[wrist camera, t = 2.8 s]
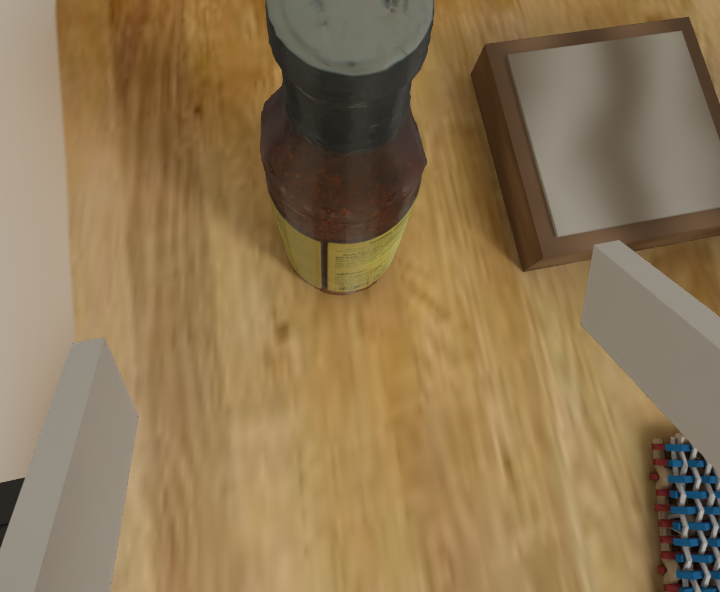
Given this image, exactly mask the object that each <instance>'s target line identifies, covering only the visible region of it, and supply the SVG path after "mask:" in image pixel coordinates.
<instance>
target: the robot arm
mask: <svg viewBox="0 0 720 592" xmlns="http://www.w3.org/2000/svg"><path fill="white" fill-rule="evenodd" d="M581 325H582V326H583V328H584V329H585V330H586V331H587V332H588V333H589V334H590V335H591V336H592V337H593V338H594V339H595V340H596V341H597V343H598V344H599V345H600V346H601V347H602V348H603V349H604V350H605V351H606V352H607V353H608V354H609V355H610V357H611V358H612V359H613V360H614V361H615V362H616V363H617V364H618V365H619V366H620V367H621V368H622V369H623V371H624V372H625V373H626V374H627V375H628V376H629V377H630V378H631V379H632V380H633V381H634V382H635V383H636V384H637V386H638V387H639V388H640V389H641V390H642V391H643V392H644V393H645V394H646V395H647V396H648V397H649V398H650V400H651V401H652V402H653V403H654V404H655V405H656V406H657V407H658V408H659V409H660V410H661V411H662V412H663V414H664V415H665V416H666V417H667V418H668V419H669V420H670V421H671V422H672V423H673V424H674V425H675V426H676V427H677V429H678V430H679V431H680V432H681V433H682V434H683V435H684V436H685V437H686V438H687V439H688V440H689V441H690V443H691V444H692V445H693V446H694V447H695V448H696V449H697V450H698V451H699V452H700V453H701V454H702V455H703V457H704V458H705V459H706V460H707V461H708V462H709V463H710V464H711V465H712V466H713V467H714V468H715V469H716V470H717V472H718V473H719V474H720V317H719V316H718V315H717V314H715V313H714V312H713V311H712V310H710V309H709V308H708V307H706V306H705V305H704V304H702V303H701V302H700V301H698V300H697V299H696V298H694V297H693V296H692V295H691V294H689V293H688V292H687V291H685V290H684V289H683V288H681V287H680V286H679V285H677V284H676V283H675V282H674V281H672V280H671V279H670V278H668V277H667V276H666V275H664V274H663V273H662V272H660V271H659V270H658V269H656V268H655V267H654V266H653V265H651V264H650V263H649V262H647V261H646V260H645V259H643V258H642V257H641V256H639V255H638V254H637V253H635V252H634V251H633V250H632V249H630V248H629V247H628V246H626V245H625V244H624V243H622V242H621V241H620V240H617V241H611V242H606V243H601V244H595V245H594V247H593V253H592V259H591V265H590V271H589V277H588V283H587V289H586V295H585V301H584V307H583V313H582V319H581ZM137 423H138V414H137V412H136V409H135V407H134V405H133V402H132V400H131V398H130V395H129V393H128V391H127V388H126V386H125V384H124V381H123V379H122V377H121V374H120V372H119V370H118V367H117V365H116V363H115V360H114V358H113V356H112V353H111V351H110V349H109V346H108V344H107V342H106V339H105V337H104V338H99V339H93V340H88V341H83V342H78V343H72V346H71V349H70V352H69V355H68V357H67V360H66V363H65V366H64V369H63V372H62V374H61V377H60V380H59V383H58V386H57V389H56V392H55V394H54V397H53V400H52V403H51V406H50V409H49V411H48V414H47V417H46V420H45V423H44V426H43V429H42V431H41V434H40V437H39V440H38V443H37V446H36V449H35V451H34V455H33V457H32V460H31V463H30V466H29V469H28V471H27V474H26V477H25V478H21V479H16V480H12V481H7V482H2V483H0V592H110V590H111V584H112V577H113V571H114V565H115V559H116V553H117V546H118V540H119V534H120V528H121V522H122V515H123V509H124V503H125V497H126V491H127V485H128V478H129V472H130V466H131V460H132V454H133V447H134V441H135V435H136V429H137Z"/></svg>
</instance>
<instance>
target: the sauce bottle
mask: <svg viewBox="0 0 720 592" xmlns="http://www.w3.org/2000/svg"><path fill="white" fill-rule="evenodd" d="M265 7H266V21H267V29H268V35H269V44H270V46H271V48H272V53H273V55H274V58H275V60H276V62H277V63H278V65H279V66H280V68H281V69H282V76H283V82H282V86H281V87H280V88H279V89H278V90H277V91H276V92H275V93H274V94H273V95H271V97H270V98H269V99H268V100H267V101H266V102H265V104H264V107H263V111H262V113H261V140H260V152H261V157H262V162H263V166H264V170H265V173H266V184H267V188H268V192H269V196H270V199H271V203H272V206H273V210H274V214H275V217H276V221H277V225H278V228H279V231H280V234H281V238H282V241H283V244H284V248H285V251H286V254H287V257H288V259H289V261H290V263H291V265H292V266H293V268H294V270H295V272H296V273H297V274H299V275H300V276H301V277H302V278H303V279H304V280H305V281H306V282H307V283H309V284H310V285H312V286H314V287H315V288H317V289H319V290H321V291H322V292H324V293H327V294H332V295H346V294H352V293H354V292H358V291H361V290H364V289H367V288H369V287H370V286H372V285H373V284H375V283H376V282H377V280H378V279H379V278H380V277H381V276H382V275H383V274H384V273H385V271H386V270H387V269H388V267H389V266H390V265H391V263H392V260H393V258H394V256H395V253H396V251H397V248H398V245H399V243H400V240H401V238H402V236H403V233H404V230H405V227H406V225H407V222H408V220H409V217H410V214H411V211H412V209H413V206H414V203H415V200H416V198H417V195H418V192H419V188H420V184H421V177H422V173H423V170H424V168H425V166H426V164H427V159H426V156H425V153H424V149H423V146H422V142H421V138H420V134H419V131H418V127H417V124H416V122H415V120H414V118H413V116H412V112H411V108H410V98H411V96H410V90H411V82H412V79H413V78H414V77H415V76H416V75H417V73H418V72H419V71H420V69H421V67H422V65H423V62H424V60H425V58H426V55H427V51H428V45H429V42H430V34H431V29H432V26H433V16H434V0H265Z"/></svg>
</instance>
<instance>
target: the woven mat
mask: <svg viewBox="0 0 720 592" xmlns="http://www.w3.org/2000/svg"><path fill="white" fill-rule="evenodd" d="M687 441H688V439H687V438H686V437H685V436H684V435H683V434H682V433H675V435H674V437H670V444H663V442H662V439H653V444H652V450H653V465H654V467H655V469H656V471H657V473H650V480H655V481H656V480H658V481H657V482H656V496H657V504H655V511H658V517H659V519H658V524H659V529H660V542H661V559H662V561H663V563H664V565H660V566H658V573H662V574H665V573H666V574H665V575H664V577H663V580H664V591H665V592H720V534H717V532H718V531H719V533H720V474H719V473H718V472H717V470H716V469H715V468H714V467H713V466H712V465H711V464H710V463H709V462H708V461H707V460H706V459H705V458H704V459H702V454H701V453H700V452H699V451H698V450H697V449H696V448H695V447H694V446H693V445H692V444H691V443H690V444H686V442H687ZM689 442H690V441H689ZM664 450H665V451H671V456H672V459H665V454H664ZM684 451H691V455H690V458H689V459H686V457H685V454H684ZM669 466H670V467H673V472H672V470H671V468H670V467H669ZM688 467H690V468H691V470H692V473H693V474H686V472H687V468H688ZM703 467H706V468H705V471H704V469H703ZM710 471H711V474H710ZM673 482H675V489H671V487H672V484H673ZM691 482H693V483H694V486H693V488H691V489H687V488H686V483H691ZM710 483H712V485H713V489H712V488H711V485H710ZM668 496H670V497H672V498H676V500H677V504H668ZM687 498H693V499H694V501H695V504H696V505H688V500H687ZM713 503H714V505H713ZM669 511H671V513H672V514H669ZM695 513H697V517H696V518H695V516H694V514H695ZM714 515H716V519H715V516H714ZM708 516H709V518H710V520H708ZM679 517H680V518H679ZM674 518H675V519H674ZM671 529H672V530H674V531H676V532H677V533H679V535H680V536H671ZM710 529H712V531H711V534H710V531H709V530H710ZM696 531H697V533H698V536H694V535H695V533H696ZM672 543H674V545H677V546H681V551H673V550H672ZM699 545H700V548H699V551H692V547H694V546H699ZM717 547H718V548H719V550H718V548H717ZM711 548H712V550H713V551H711ZM713 561H715V564H714V567H713ZM678 562H682V566H679V564H678ZM693 562H699V564H700V566H701V567H694V564H693ZM701 578H703V580H702V581H701V582H697V581H696V580H697V579H701ZM681 579H682V583H679V582H680V580H681Z"/></svg>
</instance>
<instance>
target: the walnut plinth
mask: <svg viewBox="0 0 720 592" xmlns="http://www.w3.org/2000/svg"><path fill="white" fill-rule="evenodd" d="M471 77H472V81H473V85H474V89H475V92H476V96H477V100H478V104H479V107H480V111H481V115H482V119H483V122H484V126H485V130H486V134H487V138H488V141H489V145H490V149H491V153H492V156H493V160H494V164H495V168H496V172H497V175H498V179H499V183H500V187H501V190H502V194H503V198H504V202H505V205H506V209H507V213H508V217H509V221H510V224H511V228H512V232H513V236H514V239H515V243H516V247H517V251H518V254H519V258H520V262H521V266H522V270H523V272H525V271H530V270H535V269H541V268H546V267H551V266H557V265H562V264H567V263H573V262H578V261H583V260H589V259H592V253H593V247H594V245H595V244H601V243H606V242H611V241H617V240H620V241H621V242H622V243H624V244H625V245H626V246H628V247H629V248H630V249H632V250H633V251H637V250H642V249H648V248H653V247H658V246H664V245H669V244H674V243H680V242H685V241H691V240H696V239H701V238H707V237H712V236H717V235H720V104H719V101H718V98H717V95H716V93H715V90H714V87H713V84H712V81H711V78H710V75H709V73H708V70H707V67H706V64H705V61H704V58H703V56H702V53H701V50H700V47H699V44H698V41H697V38H696V36H695V33H694V30H693V27H692V24H691V21H690V19H689V17H685V18H677V19H670V20H662V21H655V22H647V23H640V24H632V25H625V26H617V27H610V28H602V29H595V30H587V31H580V32H572V33H565V34H557V35H550V36H542V37H535V38H527V39H520V40H512V41H505V42H497V43H490V44H485V45H484V48H483V50H482V52H481V54H480V56H479V58H478V60H477V62H476V65H475V67H474V69H473V71H472V73H471Z"/></svg>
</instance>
